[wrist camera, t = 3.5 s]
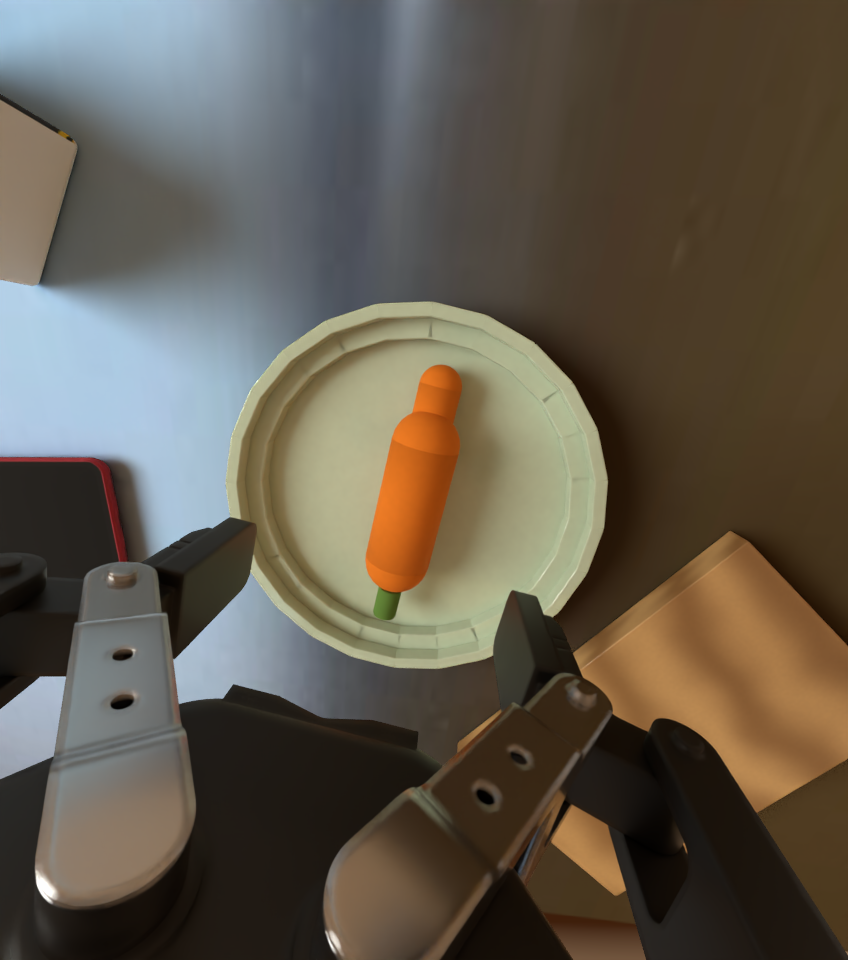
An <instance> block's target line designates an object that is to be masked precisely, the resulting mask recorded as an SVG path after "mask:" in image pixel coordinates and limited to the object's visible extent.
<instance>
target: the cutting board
mask: <svg viewBox="0 0 848 960" xmlns="http://www.w3.org/2000/svg"><path fill="white" fill-rule="evenodd" d="M573 655H574V657H575V660H576V662H577V664H578V667H579V669H580V671H581V674H582V676H583V678H585V679H587V680H588V681H590V682H592V683H593V684H595V685H596V686H597V687H599V688H600V689H601V690H602V691H603V692H604V693H605V694H606V695H607V697H608V698H609V700H610V701H611V704H612V707H613V713H612V714H614V715H615V716H617V717H619V718H621V719H622V720H624V721H627V722H629V723H631V724H633V725H635V726H637V727H639V728H641V729H643V730H645V731H647V732H648V731H649V729H650V727H651V725H652V723H653V721H654V720H655V719H658V718H666V719H671V720H674V721H677V722H679V723H682V724H684V725H686V726H687V727H689V728H691V729H692V730H694V731H695V732H697V733H698V734H700V735H701V736H702V737H703V738H704V739H706V740H707V741H708V742H709V743H710V744H711V745H712V746H713V747H714V749H715V750H716V751H717V753H718V754H719V755H720V757H721V759H722V760H723V762H724V763H725V765H726V766H727V768H728V769H729V771H730V773H731V774H732V776H733V777H734V779H735V780H736V782H737V783H738V785H739V787H740V788H741V790H742V791H743V793H744V794H745V796H746V798H747V799H748V801H749V802H750V804H751V805H752V807H753V808H754V810H755V812H756V813H757V812H759V811H760V810H762V809H764V808H766V807H767V806H769V805H771V804H772V803H774V802H776V801H777V800H779V799H781V798H782V797H784V796H786V795H787V794H789V793H791V792H793V791H794V790H796V789H798V788H799V787H801V786H803V785H804V784H806V783H808V782H809V781H811V780H813V779H814V778H816V777H818V776H820V775H821V774H823V773H825V772H826V771H828V770H830V769H831V768H833V767H835V766H836V765H838V764H840V763H841V762H843V761H845V760H847V759H848V645H847V644H846V643H845V642H844V641H843V640H842V639H841V638H840V637H839V636H838V635H837V634H836V633H835V632H834V631H833V629H832V628H831V627H830V626H829V625H828V624H827V623H826V622H825V621H824V620H823V619H822V618H821V617H820V616H819V615H818V614H817V613H816V612H815V611H814V609H813V608H812V607H811V606H810V605H809V604H808V603H807V602H806V601H805V600H804V599H803V598H802V597H801V596H800V595H799V594H798V593H797V592H796V591H795V589H794V588H793V587H792V586H791V585H790V584H789V583H788V582H787V581H786V580H785V579H784V578H783V577H782V576H781V575H780V574H779V573H778V572H777V571H776V569H775V568H774V567H773V566H772V565H771V564H770V563H769V562H768V561H767V560H766V559H765V558H764V557H763V556H762V555H761V554H760V553H759V552H758V551H757V549H756V548H755V547H754V546H753V545H752V544H751V543H750V542H749V541H747V540H745V539H744V538H742V537H740V536H739V535H737V534H735V533H733V532H732V531H729V532H728V533H726V534H725V535H724V536H723V537H721V538H720V539H719V540H717V541H716V542H715V543H714V544H712V545H711V546H710V547H708V548H707V549H706V550H705V551H703V552H702V553H701V554H699V555H698V556H697V557H696V558H694V559H693V560H692V561H690V562H689V563H688V564H687V565H685V566H684V567H683V568H681V569H680V570H679V571H678V572H676V573H675V574H674V575H672V576H671V577H670V578H669V579H667V580H666V581H665V582H664V583H662V584H661V585H660V586H658V587H657V588H656V589H655V590H653V591H652V592H651V593H649V594H648V595H647V596H646V597H644V598H643V599H642V600H640V601H639V602H638V603H637V604H635V605H634V606H633V607H631V608H630V609H629V610H628V611H626V612H625V613H624V614H622V615H621V616H620V617H619V618H617V619H616V620H615V621H613V622H612V623H611V624H610V625H608V626H607V627H606V628H604V629H603V630H602V631H601V632H599V633H598V634H597V635H595V636H594V637H593V638H592V639H590V640H589V641H588V642H586V643H585V644H584V645H583V646H581V647H580V648H579V649H577V650H576V651H575V652H574V653H573ZM500 713H501V709H500V710H499V711H498V712H497V713H495V714H494V715H493V716H491V717H490V718H489V719H488V720H486V721H485V722H484V723H482V724H481V725H480V726H479V727H477V728H476V729H475V730H473V731H472V732H471V733H470V734H468V735H467V736H466V737H464V738H463V739H462V740H461V741H459V742H458V752H459V751H460V750H461V749H462V748H464V747H465V746H466V745H467V744H468V743H469V742H470V741H471V740H472V739H473V738H474V737H475V736H476V735H478V734H479V733H480V732H481V731H482V730H483V729H484V728H485V727H486V726H487V725H488V724H489V723H491V722H492V721H493V720H494V719H495V718H496V717H497V716H498V715H499V714H500ZM551 842H552V843H553V844H554V845H555V846H556V847H558V848H559V849H560V850H561V851H562V852H564V853H565V854H566V855H567V856H568V857H569V858H571V859H572V860H573V861H574V862H575V863H577V864H578V865H579V866H580V867H581V868H583V869H584V870H585V871H586V872H587V873H589V874H590V875H591V876H592V877H593V878H594V879H596V880H597V881H598V882H599V883H600V884H602V885H603V886H604V887H605V888H606V889H608V890H609V891H610V892H611V893H612V894H614V895H615V896H617V895H619V894H620V893H622V892H624V891H625V890H626V888H625V884H624V881H623V878H622V874H621V871H620V867H619V864H618V860H617V857H616V853H615V850H614V846H613V843H612V840H611V836H610V833H609V829H608V825H607V824H605V823H604V822H602V821H600V820H598V819H597V818H595V817H593V816H591V815H589V814H588V813H586V812H584V811H582V810H581V809H579V808H577V807H575V806H574V805H572V807H571V809H570V811H569V812H568V814H567V816H566V817H565V819H564V821H563V822H562V824H561V826H560V827H559V829H558V831H557V833H556V834H555V836H554V838H553V839H552V841H551ZM683 846H684V848H685V850H686V852H687V849H686V846H685V843H683Z"/></svg>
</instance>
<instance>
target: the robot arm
mask: <svg viewBox="0 0 848 960" xmlns="http://www.w3.org/2000/svg"><path fill="white" fill-rule="evenodd" d="M256 533H257V526H256V524H255V523H252V522H249V521H245V520H241V519H237V518H233V517H230V518H228V519H226V520H225V521H223V522H222V523H220V524H219V525H217V526H216V527H214V528H213V529H212V528H205V529H201V530H197V531H194V532H191V533H189V534H187V535H186V536H184V537H183V538H181V539H180V540H179V541H176V542H174V543H173V544H171V545H170V546H169V547H166V548H165V549H163V550H161V551H160V552H158V553H156V554H155V555H153V556H152V557H150V558H148V559H147V560H145V561H143V562H142V563H137V562H115V563H109V564H105V565H102V566H99V567H97V568H94V569H93V570H91V571H89V572H88V573H87V574H86V576H85V577H84V579H72V578H56V577H47V562H46V561H45V559H43V558H42V557H40V556H37V555H34V554H28V553H0V709H1V708H2V707H3V706H5V705H6V704H7V703H8V702H10V701H11V700H12V699H13V698H15V697H16V696H17V695H18V694H20V693H21V692H22V691H23V690H24V689H26V688H27V687H28V686H29V685H31V684H32V683H33V682H34V681H36V680H37V679H38V678H39V677H40V676H66V682H65V688H64V694H63V701H62V707H61V714H60V720H59V727H58V733H57V740H56V746H55V752H54V757H51V758H49V759H47V760H44V761H42V762H40V763H37V764H35V765H33V766H30V767H28V768H26V769H23V770H21V771H19V772H16V773H14V774H12V775H9V776H7V777H5V778H2V779H0V960H573V959H572V957H571V956H570V954H569V953H568V951H567V950H566V948H565V947H564V945H563V943H562V942H561V940H560V939H559V937H558V936H557V934H556V933H555V931H554V929H553V928H552V926H551V925H550V923H549V922H548V920H547V919H546V917H545V916H544V914H543V912H542V911H541V909H540V908H539V906H538V905H537V903H536V902H535V900H534V899H533V897H532V895H531V894H530V892H529V891H528V889H527V888H526V886H527V884H528V882H529V880H530V878H531V876H532V874H533V872H534V870H535V869H536V867H537V865H538V863H539V861H540V860H541V858H542V856H543V855H544V853H545V851H546V850H547V848H548V846H549V844H550V843H551V841H552V839H553V838H554V836H555V834H556V833H557V831H558V829H559V827H560V826H561V824H562V822H563V821H564V819H565V817H566V816H567V814H568V812H569V811H570V809H571V807H572V805H574V806H575V807H577V808H579V809H581V810H582V811H584V812H586V813H588V814H589V815H591V816H593V817H595V818H597V819H598V820H600V821H602V822H604V823H605V824H607V825H608V829H609V833H610V836H611V840H612V843H613V846H614V850H615V853H616V857H617V860H618V864H619V867H620V871H621V874H622V878H623V881H624V884H625V888H626V891H627V895H628V898H629V902H630V905H631V909H632V912H633V916H634V919H635V923H636V926H637V929H638V933H639V936H640V940H641V943H642V946H643V950H644V954H645V957H646V960H848V955H847V954H846V952H845V950H844V949H843V947H842V946H841V944H840V943H839V941H838V940H837V938H836V936H835V935H834V933H833V932H832V930H831V929H830V927H829V925H828V924H827V922H826V921H825V919H824V918H823V916H822V915H821V913H820V911H819V910H818V908H817V907H816V905H815V904H814V902H813V900H812V899H811V897H810V896H809V894H808V893H807V891H806V890H805V888H804V886H803V885H802V883H801V882H800V880H799V879H798V877H797V876H796V874H795V872H794V871H793V869H792V868H791V866H790V865H789V863H788V861H787V860H786V858H785V857H784V855H783V854H782V852H781V851H780V849H779V847H778V846H777V844H776V843H775V841H774V840H773V838H772V837H771V835H770V833H769V832H768V830H767V829H766V827H765V826H764V824H763V822H762V821H761V819H760V818H759V816H758V815H757V813H756V812H755V810H754V808H753V807H752V805H751V804H750V802H749V801H748V799H747V798H746V796H745V794H744V793H743V791H742V790H741V788H740V787H739V785H738V783H737V782H736V780H735V779H734V777H733V776H732V774H731V773H730V771H729V769H728V768H727V766H726V765H725V763H724V762H723V760H722V759H721V757H720V755H719V754H718V753H717V751H716V750H715V749H714V747H713V746H712V745H711V744H710V743H709V742H708V741H707V740H706V739H704V738H703V737H702V736H701V735H700V734H698V733H697V732H695V731H694V730H692V729H691V728H689V727H687V726H686V725H684V724H682V723H679V722H677V721H674V720H671V719H666V718H658V719H655V720H654V721H653V723H652V725H651V727H650V729H649V731H648V732H647V731H645V730H643V729H641V728H639V727H637V726H635V725H633V724H631V723H629V722H627V721H624V720H622V719H621V718H619V717H617V716H615V715H614V714H612V713H613V707H612V704H611V701H610V700H609V698H608V697H607V695H606V694H605V693H604V692H603V691H602V690H601V689H600V688H599V687H597V686H596V685H595V684H593V683H592V682H590V681H588V680H587V679H585V678H583V676H582V674H581V671H580V669H579V667H578V664H577V662H576V660H575V657H574V655H573V653H572V652H571V648H570V646H569V643H568V642H567V639H566V636H565V634H564V632H563V629H562V628H561V627H560V625H559V624H558V623H557V622H556V621H555V620H554V619H553V618H552V617H551V616H548V615H544V614H543V611H542V608H541V606H540V603H539V600H538V598H537V596H534V595H530V594H527V593H523V592H519V591H515V590H512V591H511V592H510V594H509V596H508V599H507V602H506V605H505V608H504V611H503V614H502V617H501V620H500V623H499V626H498V629H497V632H496V635H495V639H494V645H493V658H494V665H495V671H496V678H497V685H498V692H499V699H500V706H501V713H500V714H499V715H498V716H497V717H496V718H495V719H494V720H493V721H492V722H491V723H489V724H488V725H487V726H486V727H485V728H484V729H483V730H482V731H481V732H480V733H479V734H478V735H476V736H475V737H474V738H473V739H472V740H471V741H470V742H469V743H468V744H467V745H466V746H465V747H464V748H462V749H461V750H460V751H459V752H458V753H457V754H456V755H455V756H454V757H453V758H452V759H451V760H449V761H448V762H447V763H446V764H445V765H444V766H442V765H441V764H440V763H438V762H437V761H436V760H435V759H434V758H432V757H431V756H429V755H428V754H426V753H425V752H423V751H421V750H419V749H417V741H418V732H417V731H413V730H409V729H405V728H401V727H397V726H393V725H389V724H386V723H382V722H378V721H374V720H353V719H327V718H321V717H319V716H317V715H315V714H313V713H311V712H309V711H307V710H305V709H303V708H301V707H299V706H297V705H295V704H293V703H291V702H289V701H287V700H286V699H284V698H282V697H280V696H277V695H273V694H269V693H265V692H261V691H257V690H253V689H250V688H246V687H242V686H238V685H234V684H233V686H232V687H231V688H230V690H229V691H228V693H227V694H226V696H225V697H224V698H223V699H203V700H196V701H191V702H186V703H182V704H179V703H178V695H177V687H176V679H175V671H174V663H173V659H175V658H176V657H177V656H178V655H179V654H180V653H181V652H182V651H183V650H184V649H185V648H186V647H187V646H188V645H189V644H190V643H191V642H192V641H193V640H194V639H195V638H196V637H197V636H198V634H199V633H200V632H201V631H202V630H203V629H204V628H205V627H206V626H207V625H208V624H209V623H210V622H211V621H212V620H213V619H214V618H215V617H216V616H217V615H218V614H219V613H220V612H221V611H222V610H223V609H224V608H225V607H226V606H227V605H228V603H229V602H230V601H231V600H232V599H233V598H234V597H235V596H236V595H237V594H238V593H239V592H240V591H241V590H242V589H243V587H244V586H245V584H246V582H247V580H248V577H249V575H250V571H251V565H252V559H253V552H254V546H255V540H256ZM683 843H685V846H686V849H687V852H686V850H685V848H684V846H683ZM687 854H688V855H687Z"/></svg>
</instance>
